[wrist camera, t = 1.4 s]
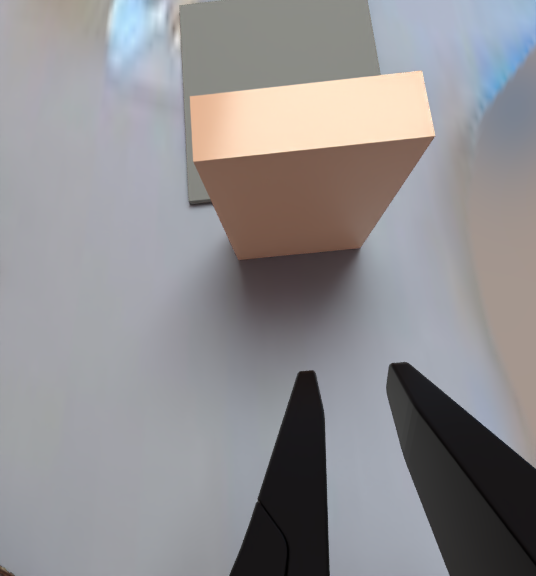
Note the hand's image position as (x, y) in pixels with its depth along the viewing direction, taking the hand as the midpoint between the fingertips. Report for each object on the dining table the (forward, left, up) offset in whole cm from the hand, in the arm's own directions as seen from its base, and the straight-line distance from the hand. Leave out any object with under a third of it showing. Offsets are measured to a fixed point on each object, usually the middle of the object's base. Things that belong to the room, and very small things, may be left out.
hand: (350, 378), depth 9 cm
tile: (+8, -4, -14) cm, 16 cm away
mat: (+17, -9, -14) cm, 24 cm away
